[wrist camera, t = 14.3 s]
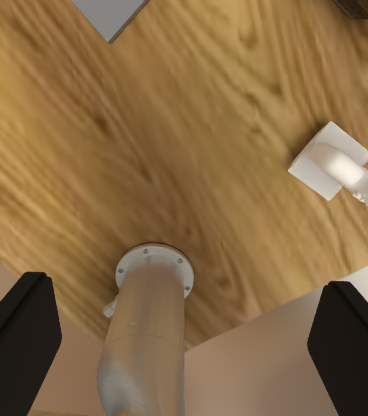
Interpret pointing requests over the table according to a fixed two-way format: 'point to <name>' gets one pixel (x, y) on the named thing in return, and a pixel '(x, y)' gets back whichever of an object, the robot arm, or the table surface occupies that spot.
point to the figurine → (333, 164)
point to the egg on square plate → (110, 14)
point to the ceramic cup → (354, 8)
